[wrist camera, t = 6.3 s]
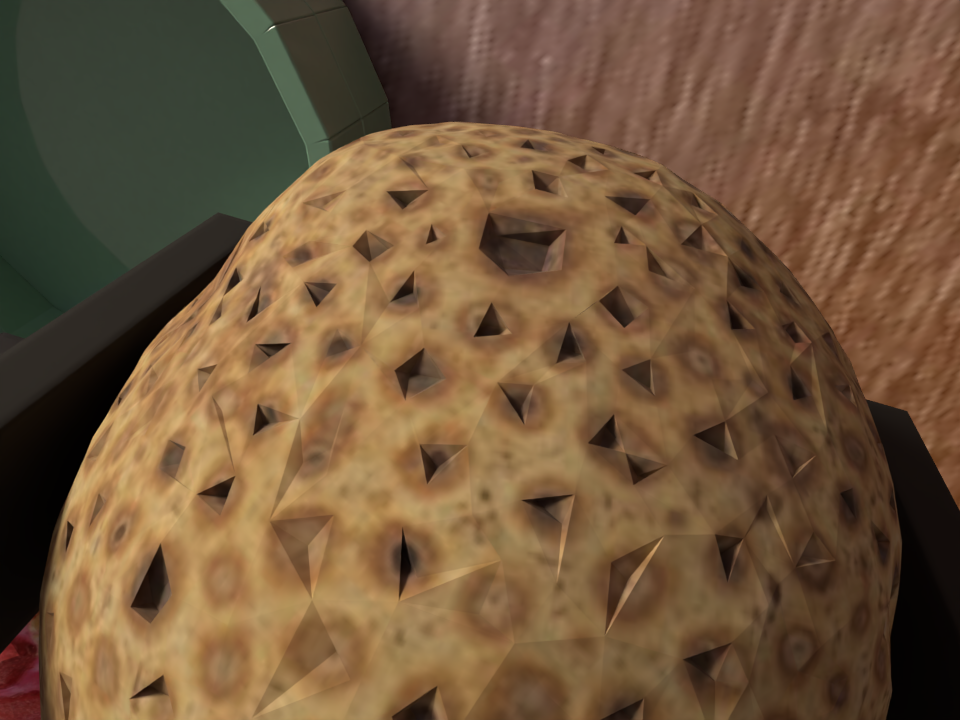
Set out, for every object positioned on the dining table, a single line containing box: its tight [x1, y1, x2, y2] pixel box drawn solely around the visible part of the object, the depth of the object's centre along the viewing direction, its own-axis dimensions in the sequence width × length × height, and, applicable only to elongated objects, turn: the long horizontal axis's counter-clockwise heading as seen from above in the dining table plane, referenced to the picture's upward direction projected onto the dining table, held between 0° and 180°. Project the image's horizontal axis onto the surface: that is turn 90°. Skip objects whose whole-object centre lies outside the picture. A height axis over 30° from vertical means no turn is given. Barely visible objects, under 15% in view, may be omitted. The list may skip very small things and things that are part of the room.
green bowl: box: [0, 0, 392, 338], centre depth 26 cm, size 20×20×6 cm
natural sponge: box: [38, 122, 902, 720], centre depth 9 cm, size 9×9×10 cm
